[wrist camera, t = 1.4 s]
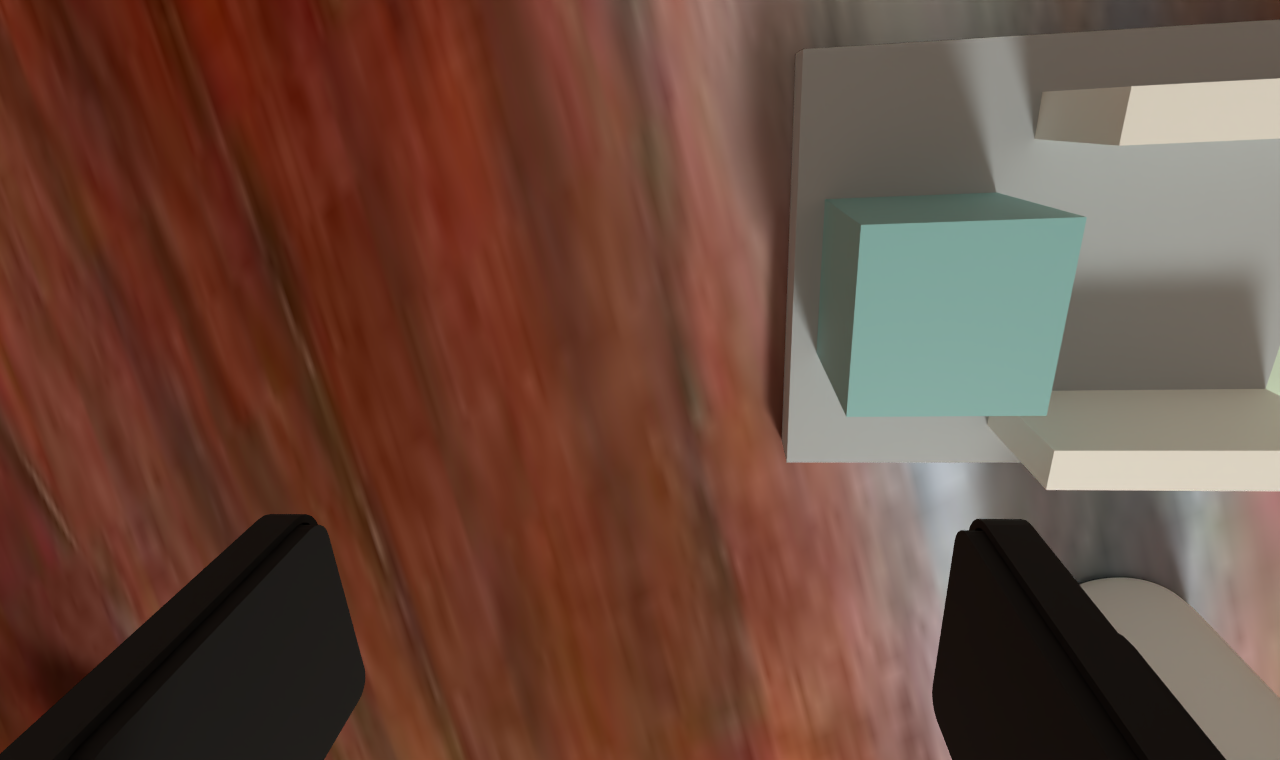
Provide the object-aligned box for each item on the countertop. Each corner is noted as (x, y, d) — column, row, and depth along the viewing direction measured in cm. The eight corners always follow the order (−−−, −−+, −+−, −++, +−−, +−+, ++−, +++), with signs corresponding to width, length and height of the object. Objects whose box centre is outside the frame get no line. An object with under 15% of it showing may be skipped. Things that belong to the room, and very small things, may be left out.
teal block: (824, 198, 24) (861, 225, 18) (996, 192, 23) (1086, 216, 18) (816, 352, 26) (846, 416, 21) (972, 350, 26) (1046, 416, 20)
